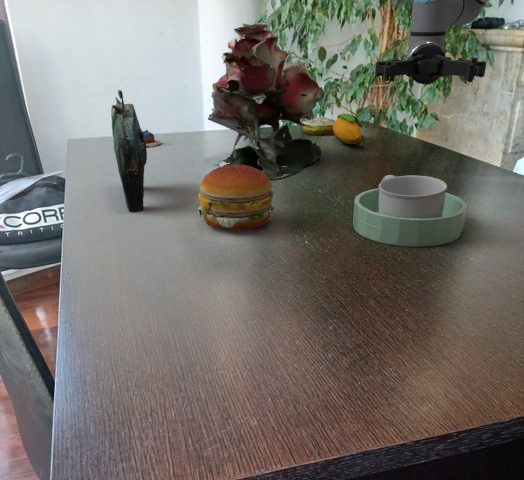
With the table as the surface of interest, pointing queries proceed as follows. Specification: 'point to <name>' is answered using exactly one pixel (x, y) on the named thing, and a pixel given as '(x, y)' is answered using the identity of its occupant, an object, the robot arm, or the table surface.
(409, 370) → the table surface
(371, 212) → the bowl
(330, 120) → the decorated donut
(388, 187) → the teacup
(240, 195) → the burger
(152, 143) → the dessert
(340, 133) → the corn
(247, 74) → the rose bouquet
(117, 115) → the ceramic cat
